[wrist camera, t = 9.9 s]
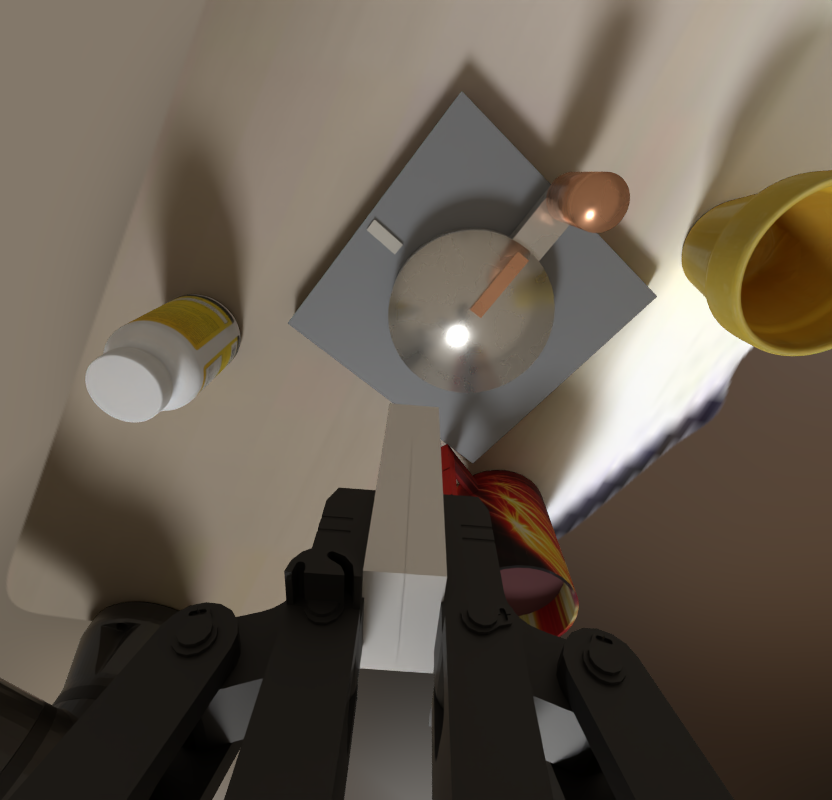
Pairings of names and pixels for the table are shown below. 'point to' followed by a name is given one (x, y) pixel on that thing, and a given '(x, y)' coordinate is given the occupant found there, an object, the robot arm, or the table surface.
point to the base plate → (448, 210)
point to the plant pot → (769, 265)
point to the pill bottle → (163, 358)
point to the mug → (520, 543)
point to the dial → (493, 288)
